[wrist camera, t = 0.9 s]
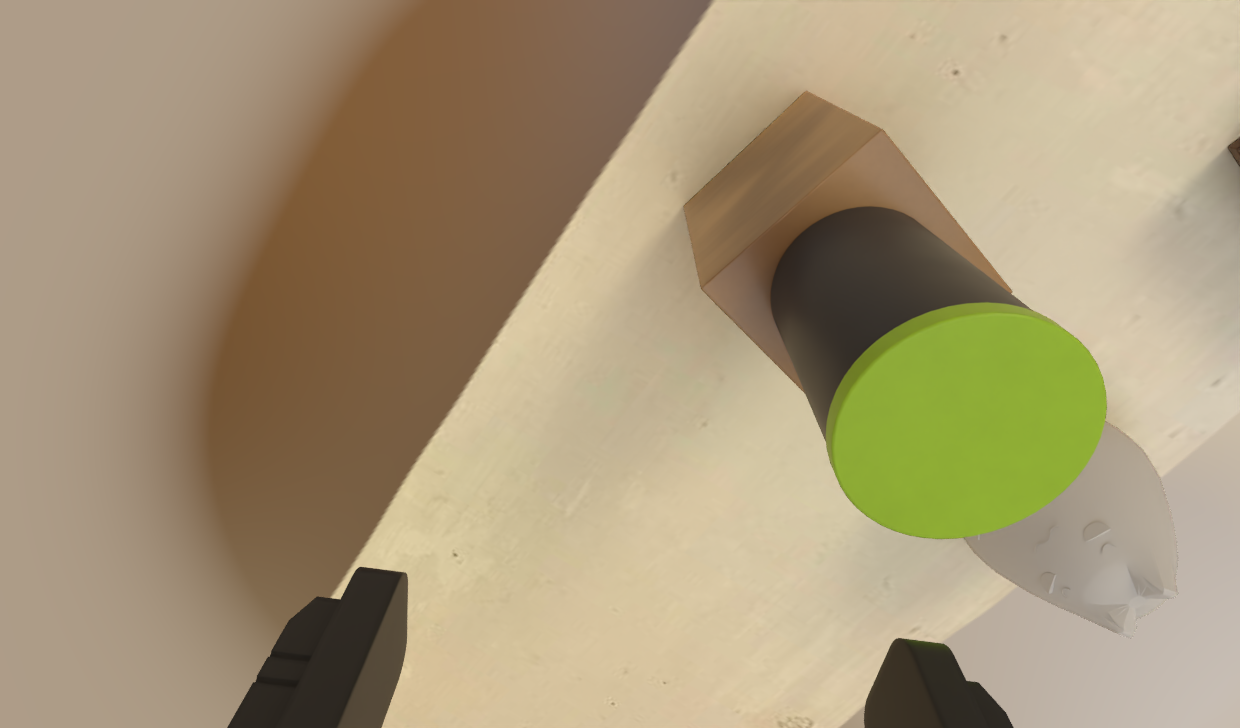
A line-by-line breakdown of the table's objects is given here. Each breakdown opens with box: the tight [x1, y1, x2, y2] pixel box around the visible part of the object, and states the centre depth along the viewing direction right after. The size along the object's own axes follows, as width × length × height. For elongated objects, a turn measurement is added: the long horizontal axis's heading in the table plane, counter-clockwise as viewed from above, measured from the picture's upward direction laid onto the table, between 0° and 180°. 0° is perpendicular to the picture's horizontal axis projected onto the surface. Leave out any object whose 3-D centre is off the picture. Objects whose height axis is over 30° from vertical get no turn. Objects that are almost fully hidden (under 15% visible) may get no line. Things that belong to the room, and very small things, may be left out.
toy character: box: [964, 421, 1178, 638], centre depth 38 cm, size 10×10×12 cm
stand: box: [684, 91, 1012, 393], centre depth 31 cm, size 8×8×12 cm
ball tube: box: [771, 206, 1107, 539], centre depth 21 cm, size 6×6×10 cm
